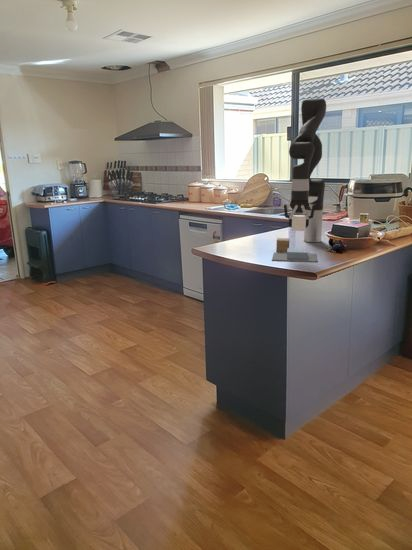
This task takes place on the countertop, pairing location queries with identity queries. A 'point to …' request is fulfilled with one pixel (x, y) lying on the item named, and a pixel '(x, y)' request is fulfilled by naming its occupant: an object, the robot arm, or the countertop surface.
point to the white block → (298, 222)
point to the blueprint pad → (284, 257)
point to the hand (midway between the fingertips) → (298, 227)
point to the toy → (335, 245)
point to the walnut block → (282, 244)
